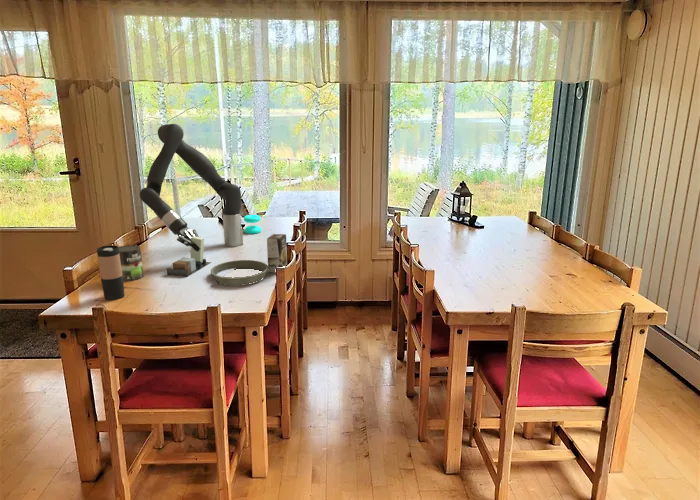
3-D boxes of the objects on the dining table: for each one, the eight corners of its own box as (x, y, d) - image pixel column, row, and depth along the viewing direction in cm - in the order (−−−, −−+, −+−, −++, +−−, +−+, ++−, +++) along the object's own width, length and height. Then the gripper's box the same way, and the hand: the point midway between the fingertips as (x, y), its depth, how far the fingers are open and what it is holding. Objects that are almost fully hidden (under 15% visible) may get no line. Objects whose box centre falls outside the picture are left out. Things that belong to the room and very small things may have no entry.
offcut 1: (178, 271, 214) (177, 260, 213) (190, 272, 213) (189, 261, 212) (173, 273, 211) (172, 263, 209) (185, 275, 209) (184, 264, 208)
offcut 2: (184, 267, 219) (183, 257, 217) (196, 268, 217) (195, 258, 216) (179, 270, 215) (178, 260, 213) (191, 271, 213) (190, 261, 212)
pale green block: (193, 260, 226) (194, 236, 222) (202, 262, 225) (203, 238, 221) (190, 261, 223) (191, 237, 219) (199, 263, 222) (201, 239, 218)
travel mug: (108, 293, 191) (101, 245, 185) (128, 293, 191) (121, 245, 186) (100, 300, 183) (92, 251, 178) (121, 300, 184) (114, 250, 178)
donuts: (245, 214, 289) (261, 214, 288) (246, 230, 291) (262, 230, 291) (241, 217, 279) (258, 217, 279) (242, 234, 282) (259, 234, 282)
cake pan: (208, 272, 217) (208, 262, 215) (262, 266, 225) (262, 257, 224) (214, 290, 195) (213, 280, 193) (273, 283, 203) (273, 273, 202)
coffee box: (281, 273, 214) (279, 239, 210) (267, 272, 216) (266, 238, 211) (287, 267, 223) (286, 234, 218) (274, 266, 224) (273, 233, 220)
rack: (192, 262, 229) (192, 254, 228) (211, 264, 227) (211, 256, 226) (167, 277, 209) (166, 268, 208) (187, 278, 207) (186, 270, 206)
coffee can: (149, 278, 208) (145, 247, 204) (127, 285, 200) (123, 253, 196) (134, 274, 213) (130, 243, 209) (113, 280, 205) (108, 249, 201)
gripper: (170, 220, 213) (197, 248, 214) (187, 213, 226) (212, 240, 227) (160, 231, 216) (187, 258, 216) (178, 224, 229) (203, 250, 229)
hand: (200, 249), depth 222 cm, fingers closed on pale green block, 2 cm apart
